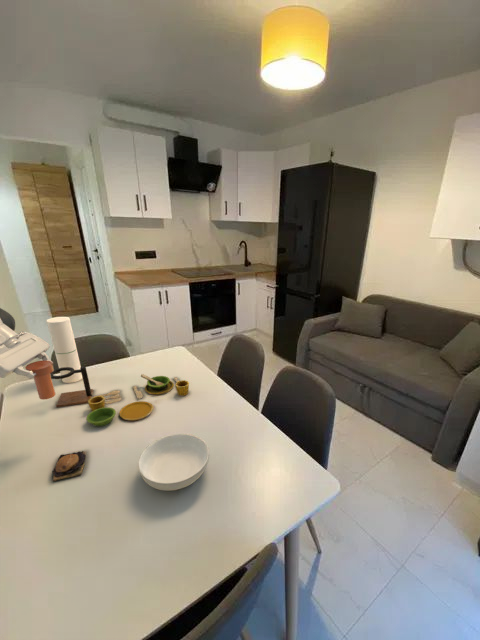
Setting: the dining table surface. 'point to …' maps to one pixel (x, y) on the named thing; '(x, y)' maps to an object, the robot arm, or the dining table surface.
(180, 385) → the tableware set
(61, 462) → the open sandwich
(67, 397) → the cup holder
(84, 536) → the dining table surface
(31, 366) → the orange wooden peg
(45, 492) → the dining table surface
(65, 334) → the container
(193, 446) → the serving bowl
